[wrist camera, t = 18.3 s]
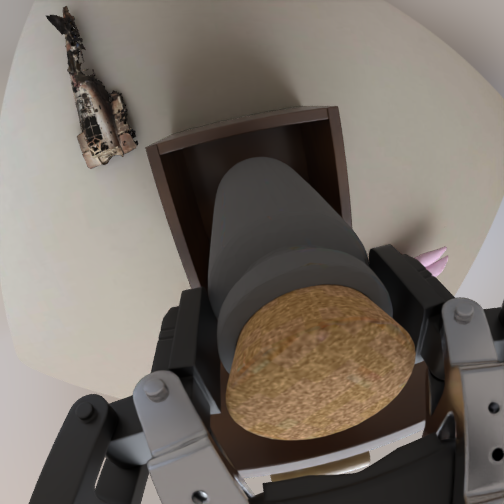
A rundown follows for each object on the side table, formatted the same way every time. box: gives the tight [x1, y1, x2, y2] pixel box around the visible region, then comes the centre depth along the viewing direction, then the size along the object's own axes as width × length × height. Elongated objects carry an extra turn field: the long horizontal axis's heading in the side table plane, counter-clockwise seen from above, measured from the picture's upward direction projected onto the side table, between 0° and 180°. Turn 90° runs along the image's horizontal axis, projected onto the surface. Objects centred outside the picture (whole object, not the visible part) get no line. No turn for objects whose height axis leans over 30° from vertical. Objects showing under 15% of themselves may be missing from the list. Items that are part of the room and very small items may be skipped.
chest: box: [145, 106, 352, 297], centre depth 25 cm, size 14×13×10 cm
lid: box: [210, 316, 427, 482], centre depth 17 cm, size 14×13×5 cm
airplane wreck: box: [46, 6, 138, 169], centre depth 20 cm, size 6×18×6 cm, turn 17°
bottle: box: [208, 157, 416, 440], centre depth 13 cm, size 6×6×15 cm
